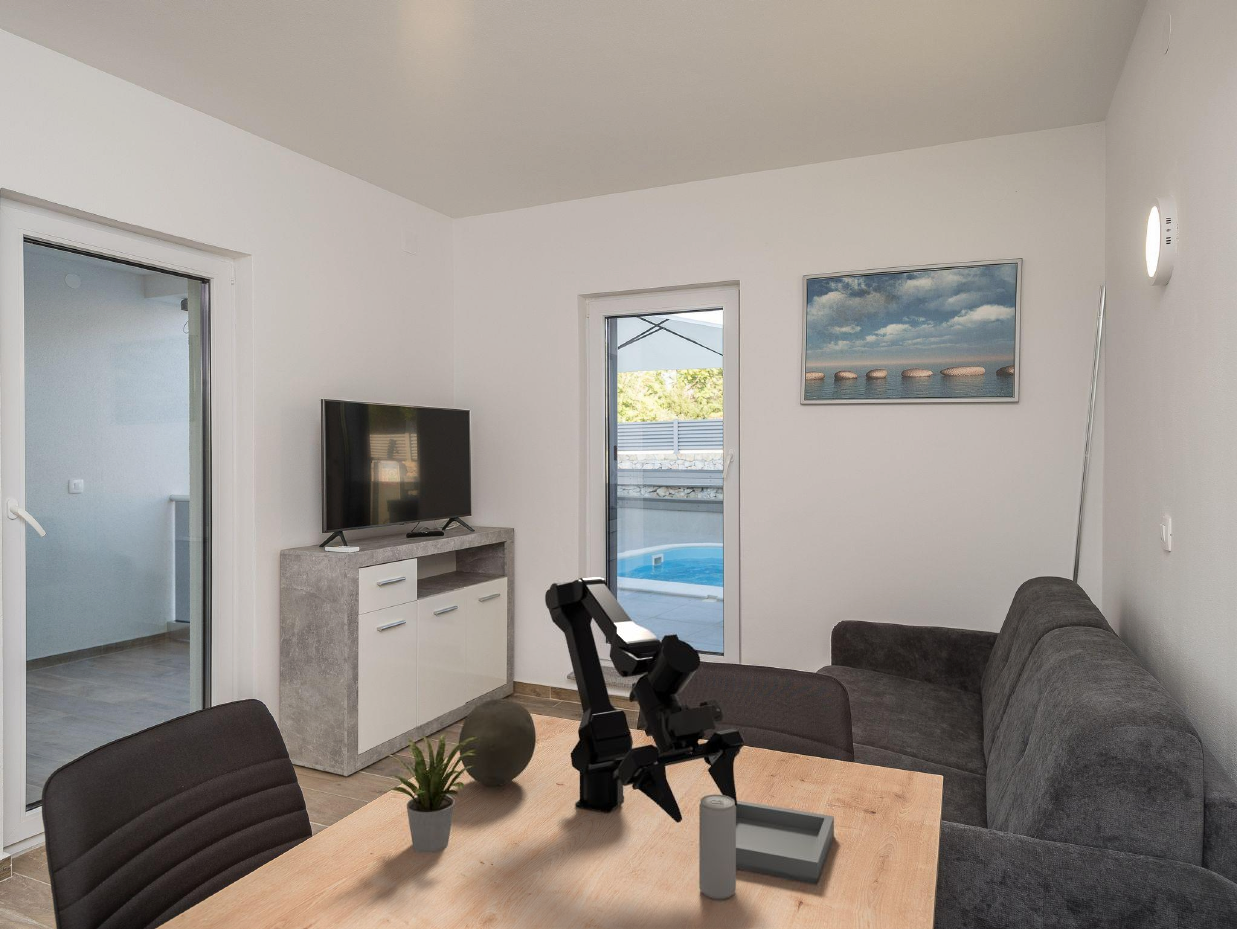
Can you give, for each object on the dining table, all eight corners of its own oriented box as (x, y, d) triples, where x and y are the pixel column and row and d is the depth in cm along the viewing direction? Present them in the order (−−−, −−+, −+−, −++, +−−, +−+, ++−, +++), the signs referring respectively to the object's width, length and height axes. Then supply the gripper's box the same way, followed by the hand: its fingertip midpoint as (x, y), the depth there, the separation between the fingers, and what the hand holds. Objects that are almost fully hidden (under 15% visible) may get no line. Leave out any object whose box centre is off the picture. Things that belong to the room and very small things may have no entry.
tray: (703, 862, 114) (703, 841, 114) (732, 818, 129) (732, 799, 129) (817, 885, 108) (817, 862, 108) (833, 835, 123) (833, 816, 123)
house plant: (504, 831, 124) (504, 726, 124) (457, 873, 111) (458, 755, 111) (424, 818, 129) (425, 716, 129) (370, 857, 115) (371, 743, 116)
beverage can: (734, 903, 103) (734, 810, 104) (697, 899, 104) (697, 806, 104) (736, 884, 108) (736, 795, 108) (701, 880, 109) (701, 792, 109)
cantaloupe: (440, 787, 142) (441, 702, 142) (501, 765, 152) (501, 686, 153) (492, 808, 132) (493, 718, 133) (553, 784, 143) (554, 700, 143)
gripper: (628, 689, 108) (674, 799, 99) (736, 673, 118) (788, 772, 108) (600, 732, 115) (641, 839, 105) (705, 713, 125) (751, 810, 115)
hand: (708, 813), depth 108 cm, fingers open, 9 cm apart
